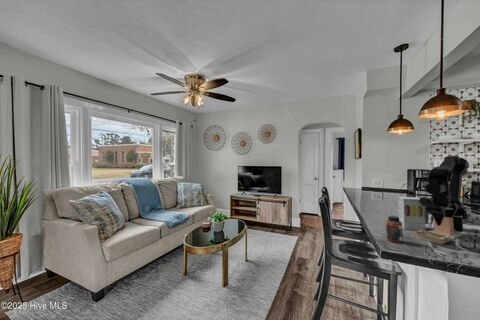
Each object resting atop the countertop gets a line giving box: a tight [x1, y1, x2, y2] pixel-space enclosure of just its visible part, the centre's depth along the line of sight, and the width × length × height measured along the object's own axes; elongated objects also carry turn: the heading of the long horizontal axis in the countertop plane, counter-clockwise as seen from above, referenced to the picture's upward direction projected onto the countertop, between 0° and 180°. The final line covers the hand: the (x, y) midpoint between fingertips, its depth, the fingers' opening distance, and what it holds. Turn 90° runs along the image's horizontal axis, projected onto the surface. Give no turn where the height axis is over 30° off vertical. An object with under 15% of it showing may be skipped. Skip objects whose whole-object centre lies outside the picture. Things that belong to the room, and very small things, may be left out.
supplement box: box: [397, 196, 426, 231], centre depth 113 cm, size 10×9×17 cm
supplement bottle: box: [385, 215, 404, 244], centre depth 94 cm, size 6×6×11 cm
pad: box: [428, 229, 463, 240], centre depth 101 cm, size 10×10×1 cm
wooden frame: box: [411, 230, 452, 245], centre depth 96 cm, size 9×11×2 cm
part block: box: [432, 217, 455, 235], centre depth 102 cm, size 4×6×8 cm, turn 25°
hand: (443, 224), depth 102 cm, fingers open, 9 cm apart
